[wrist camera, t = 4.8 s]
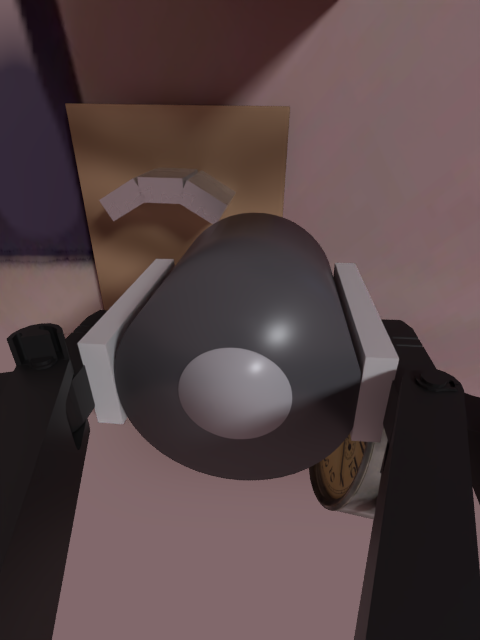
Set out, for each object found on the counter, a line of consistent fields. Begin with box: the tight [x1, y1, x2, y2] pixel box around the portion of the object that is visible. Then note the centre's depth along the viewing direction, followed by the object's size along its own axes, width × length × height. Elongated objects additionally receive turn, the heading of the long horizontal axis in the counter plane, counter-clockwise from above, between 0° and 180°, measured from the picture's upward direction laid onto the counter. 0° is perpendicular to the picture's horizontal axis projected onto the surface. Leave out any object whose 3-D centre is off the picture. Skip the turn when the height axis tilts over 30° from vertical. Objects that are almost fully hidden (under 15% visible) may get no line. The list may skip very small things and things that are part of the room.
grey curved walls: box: [99, 168, 236, 224], centre depth 25 cm, size 11×8×4 cm
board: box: [65, 103, 290, 310], centre depth 27 cm, size 18×14×1 cm
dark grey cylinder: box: [114, 212, 362, 480], centre depth 13 cm, size 6×6×7 cm
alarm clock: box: [309, 428, 388, 519], centre depth 25 cm, size 11×5×16 cm, turn 165°
